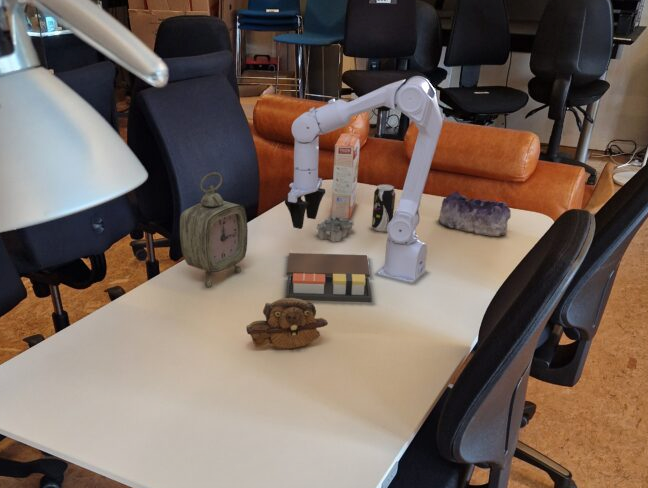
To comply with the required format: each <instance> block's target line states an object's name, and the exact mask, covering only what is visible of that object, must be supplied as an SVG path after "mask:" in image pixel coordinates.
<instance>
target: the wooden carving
mask: <svg viewBox="0 0 648 488" xmlns="http://www.w3.org/2000/svg"><path fill="white" fill-rule="evenodd" d="M262 314H263V315H264V317H265V320H254V321H252V322H251V323H249V324H247V325H246V327H245V328H246V333H247V335H250V337H251V339H252V342H253V344H254V347H256V348H261V347H262V348H263V347H264V346H267V345H271V346H272V347H275V348H278V349H286V350H287V349H294V348H299V347H303V346H306V345H308V344H311V343H312V342H313V341H315V340H317V339H318V338H319V337H320V336H321V334H320V332H319V330H317V329H319V328H324V327H327V326H328V324H329V323H328V320H326V319H325V318H323V317H319V318H318V317H317V318H316V316H317V309H316V306H315V304H314V303H313V301H304V300H301V299H295V298H286V297H284V298H280V299H277V300H275V301H273V302H271V303H269V302H266V303H265V305H264V307H263V310H262Z"/></svg>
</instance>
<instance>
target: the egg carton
mask: <svg viewBox="0 0 648 488" xmlns="http://www.w3.org/2000/svg"><path fill="white" fill-rule="evenodd" d="M354 224H355V221H354V220H352V221H350V219H345V218H341V217H337V216H335V215H332V216H331V215H330V217H329V218H326V219H324V220H323V221H321V222H320V223H317V224H316V230H317V237H319V239H320V240H325V239H326V240H330V241H331V242H333V243H334V242H340V241H342V238H346V237H347V235H348V234H352V233H353V231H352V230H353V229H352V228H353V226H355V225H354Z"/></svg>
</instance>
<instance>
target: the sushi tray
mask: <svg viewBox="0 0 648 488" xmlns="http://www.w3.org/2000/svg"><path fill="white" fill-rule="evenodd" d="M365 281H366V283H365V285H364V295H345V294H333V276H325V284H324V294H311V293H293V284H294V283H293V275H287V283H286V292H285V293H286V294H285V298H295V299H301V300H304V301H306V302H308V301H312V302H339V303H346V302H347V303H372V290H371V283H370V278H369V277H365Z"/></svg>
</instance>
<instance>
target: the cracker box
mask: <svg viewBox="0 0 648 488" xmlns="http://www.w3.org/2000/svg"><path fill="white" fill-rule="evenodd" d="M360 145H361V134H358V133H341V134H340V136H339V138H338V139H337V141H336V143H335V144H334V155H333V157H334V158H333V174H332V175H333V176H332V192H331V193H332V194H331V207H330V208H331V210H330V217H331V216H332V215H335V216H337V217H341V218H345V219H348V220H350V218H351V216H352V213H353V211H354V208H355V206H356V197H357V186H358V175H359V174H358V173H359V159H360V149H361V146H360Z"/></svg>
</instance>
